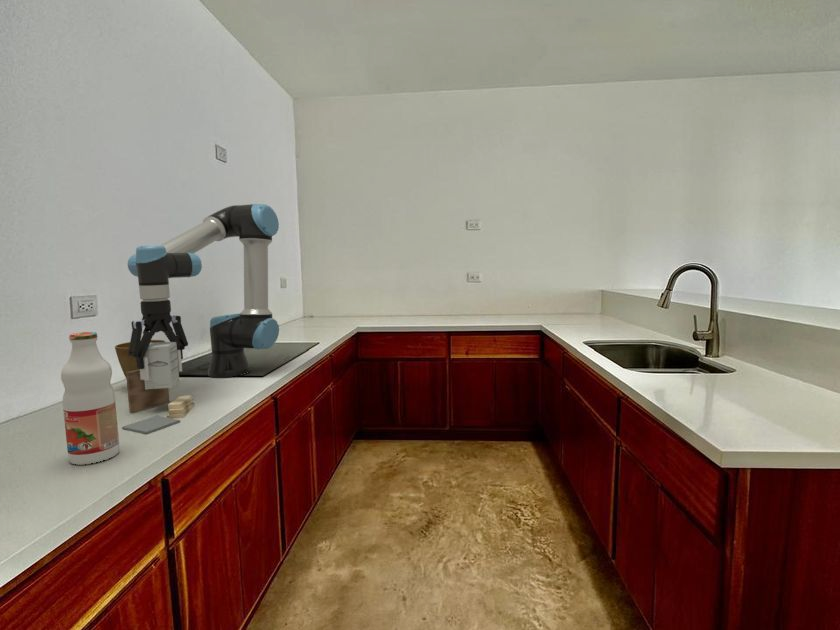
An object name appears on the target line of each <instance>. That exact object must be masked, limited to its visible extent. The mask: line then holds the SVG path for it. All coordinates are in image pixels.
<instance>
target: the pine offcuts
mask: <svg viewBox="0 0 840 630" xmlns="http://www.w3.org/2000/svg"><path fill="white" fill-rule="evenodd" d="M193 400H194V396H193V394H186V395H185V394H183V395H179V396H178V397H176V399H174V400H173V401H171V402H169V403H168V404H167V409H168V413H167V414H166V417H167V418H172V419H183V418H184V417H185V416H186V415H187V414H188V413H189V412H190V411H191V410H192V409H193V408H194V407H195V402H192V401H193Z"/></svg>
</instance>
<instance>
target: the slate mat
mask: <svg viewBox="0 0 840 630" xmlns="http://www.w3.org/2000/svg"><path fill="white" fill-rule="evenodd" d="M179 423H181V419H178V418H173V419H172V418H167V416H162V415H161V416H160V415H154V416H151V417H148V418H145V419H141V420H139V421H135V422H132V423H129V424H125V425H123V426H121V428H122V430H125V431H129V432H134V433H140V434H143V435H149V434H151V433H154V432H157V431H160V430H162V429H163V430H164V429H165V428H168V427H171V426H173V425H176V424H179Z"/></svg>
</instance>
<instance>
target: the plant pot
mask: <svg viewBox="0 0 840 630" xmlns="http://www.w3.org/2000/svg"><path fill="white" fill-rule="evenodd" d="M157 342H166V340H163V339H151V341H150V343H157ZM129 347H130V341H127V342H123V343H118V344H116V345H115V346H114V350H115V354H116V356H117V359H118V363H119V365H120V368H121V370H122V372H123V375H124V377H125V379H126V380H127V378H126V372H130V371H135V370H139V369H138V368H137V363H136V358H135V357H131V356H128V352H129Z"/></svg>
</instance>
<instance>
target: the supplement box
mask: <svg viewBox="0 0 840 630" xmlns="http://www.w3.org/2000/svg"><path fill="white" fill-rule="evenodd" d="M144 357H147V359H148V369H149V380H145V390H147V389H159V388H168V389H173V388H174V387H175V386H176V385H177V384H178V383H179V382H180V375H179V373H180V372H179V370H178V357H177V344H176V342H170V341H165V342H157V343H150V344H149V346H148V349H147V351H146V354H145V356H144Z"/></svg>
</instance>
